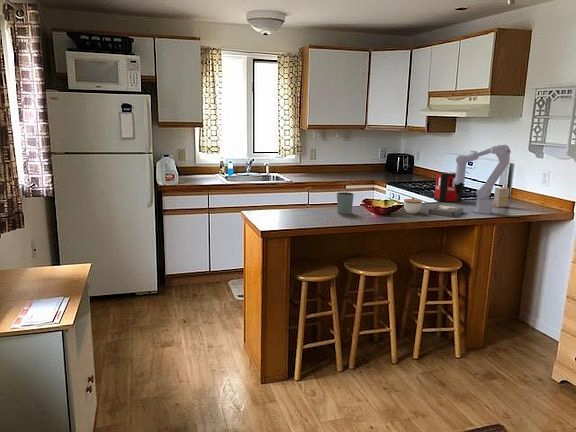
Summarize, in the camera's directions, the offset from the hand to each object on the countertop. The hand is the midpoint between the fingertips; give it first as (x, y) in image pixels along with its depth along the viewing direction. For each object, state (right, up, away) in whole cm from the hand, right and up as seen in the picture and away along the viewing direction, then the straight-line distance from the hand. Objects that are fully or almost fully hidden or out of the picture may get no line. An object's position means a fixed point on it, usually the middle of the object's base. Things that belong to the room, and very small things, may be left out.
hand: (458, 194), depth 314 cm
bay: (-12, -12, -14) cm, 22 cm away
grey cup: (-77, -12, -24) cm, 82 cm away
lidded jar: (-34, -12, -16) cm, 40 cm away
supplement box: (+33, -8, +14) cm, 37 cm away
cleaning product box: (+3, -4, +31) cm, 31 cm away
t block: (-14, -13, -16) cm, 25 cm away
